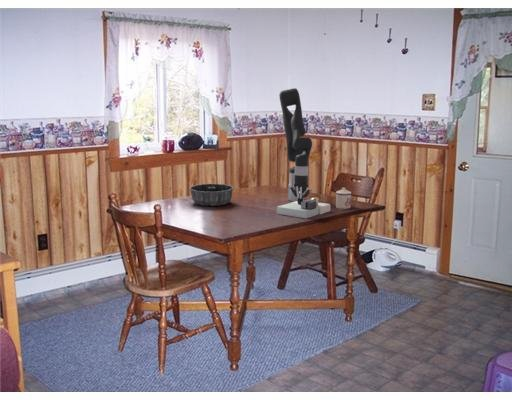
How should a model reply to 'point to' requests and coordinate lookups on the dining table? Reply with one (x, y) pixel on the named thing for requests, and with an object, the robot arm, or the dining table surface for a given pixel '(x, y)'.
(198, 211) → the dining table surface
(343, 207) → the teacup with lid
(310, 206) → the block
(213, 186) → the bundt pan
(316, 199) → the bar
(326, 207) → the jamb block
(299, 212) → the door leaf
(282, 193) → the dining table surface
